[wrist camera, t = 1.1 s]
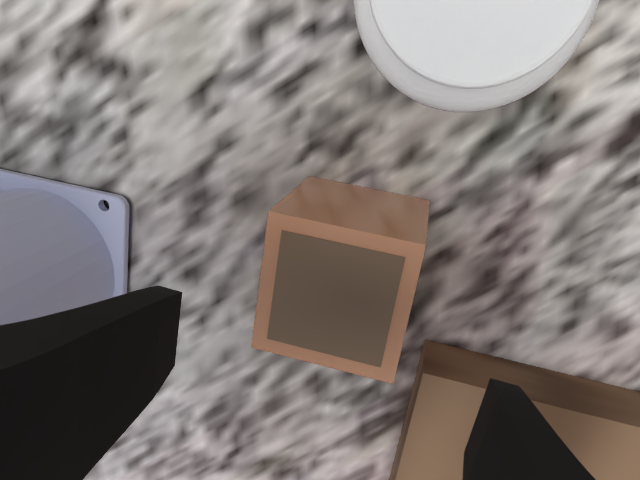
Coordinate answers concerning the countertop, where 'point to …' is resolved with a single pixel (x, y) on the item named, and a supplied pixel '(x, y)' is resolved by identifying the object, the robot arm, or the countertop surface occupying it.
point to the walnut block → (542, 389)
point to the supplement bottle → (471, 46)
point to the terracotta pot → (340, 276)
